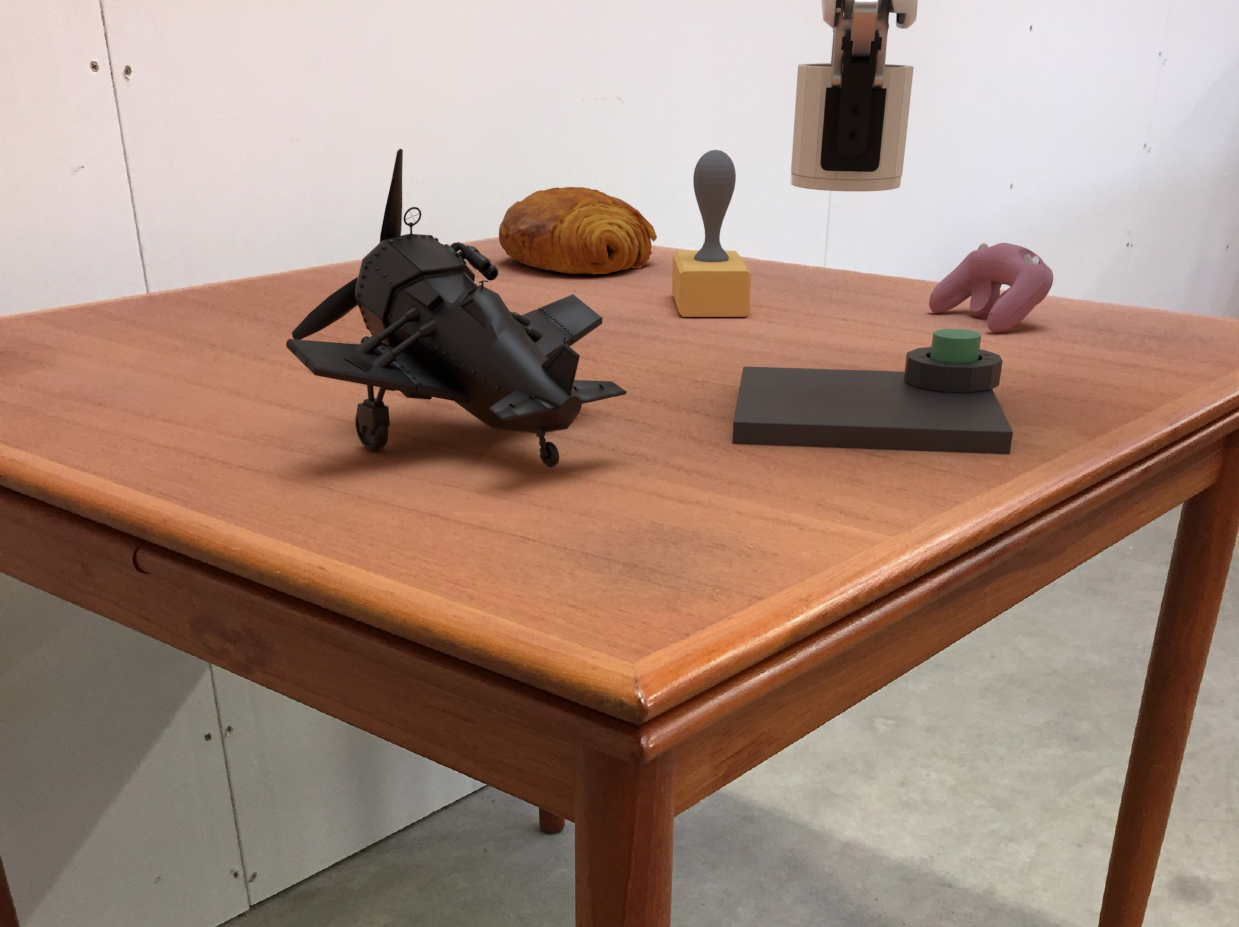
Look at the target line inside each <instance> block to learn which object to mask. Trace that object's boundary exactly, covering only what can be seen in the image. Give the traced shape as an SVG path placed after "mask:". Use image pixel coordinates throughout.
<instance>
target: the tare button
mask: <svg viewBox="0 0 1239 927" xmlns="http://www.w3.org/2000/svg"><path fill="white" fill-rule="evenodd" d="M981 341H982V334H981V333H980V332H978V331H975V330H972V329H965V328H940V329H937V330H934V331H933V332H932V338H931V346H930V347H931V354H930V359H933V360H937V361H944V362H955V363H969V362H977V361H978V356H979V349H981Z"/></svg>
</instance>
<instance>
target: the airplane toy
mask: <svg viewBox="0 0 1239 927" xmlns="http://www.w3.org/2000/svg"><path fill="white" fill-rule="evenodd" d="M403 161H404V150H403V148H399V149H398V150H397V151H396V154H395V160H394V166H393V170H392V175H391V180H390V185H389V190H388V194H387V198H386V203H385V206H384V213H383V218H382V223H381V227H380V228H381V229H380V235H379V243H377V244H376V245H375V247H374V248H372V249H371V250H370V251H369V252H368V253H367V254H366V255H365V256H364V257H363V258H362V259H361V262H360V263H361V264H360V268H359V270H358V271H359V272H358V275H357V277H355V278H353V279H352V280H350V281H349V282H347V283H346V284H344V285H343V286H342V287H340V288H339V289H337V290H335V291H334V292H333V293H331V294H329V296H327V297H326V298H325V299H324V300H323V301H321V302H320V303H319V304H318V305H317V306H316V307H315V308H314V309H312V311H310V312H309V313H308V314H307V315H306V317H305V318H303V319H302V320H301V322H300V323H299V324H298V325H297V326H296V327H295V328H294V329H293V330H292V331H291V336H292V338H288V339H287V340H286V343H285V347H286V348H287V350H288V351H289V352H291V354H292V355H294V356H295V357H296V358H297V360H299V361H300V362H301V363H302V365H303V366H305V367H306V368H307V369H308V370H309V371H310V372H311V373H312V374H313V375H314V376H316V377H321V378H327V379H332V380H338V381H343V382H348V383H354V384H360V385H364V386H366V390H367V398H365V399H363V401H362V402H360V403H357V407H356V413H355V418H354V421H355V423H354V425H355V432H356V434H357V437H358V438H359V442H360V443H361V445H363V448H366V449H367V450H369V451H373V452H376V451H380V450H382V449H383V448H385V447H386V445H387V443H388V440H389V428H390V426H391V420H390V419H391V418H390V409H389V406H388V405H386V404H385V402H384V401H383V400H384V397H385V394H386V391H390V392H394V391H397V392H400V393H401V394H402V395H403V396H404V397H405V398H407V399H418V400H428V401H431V400H432V398H436V399H440V400H441V399H442V400H447V401H452V402H454V403H455V404H457V405H459V407H461V408H462V409H464V410H465V411H466V412H468V413H470V414H471V415H472V416H473V417H475V418H476V419H478V420H479V421H480V422H482V423H483V424H485V425H487V426H489V427H491V428H493V429H496V430H498V431H505V432H506V431H507V432H517V433H526V434H527V433H528V434H535V435H536V437H537V438H538V439H539V441H538V444H539V446H540V448H539V458H540V459H541V461H542V463H543V464H544V466H546V467H547V468H555V467H556V466H557V465H558V464H559V461H560V452H559V449H558V446H557V445H556V444H555V443H554V442H552V441H547V439H546V438H545V437H546V436H547V434H546V433H552V432H559V431H563V430H568V429H569V428H570V426H571V425H572V424H573V423H574V421H575V420H576V418H577V417H578V416H579V414H580V412H581V411H582V406H583V405H585V404H588V403H593V402H594V403H595V402H597V401H603V400H608V399H612V398H616V397H621V396H625V395H626V394H627V392H628V391H626V390H625V389H624V388H622V386H619V384H616V383H615V382H614V381H613V380H587V379H585V380H584V379H576V375H577V370H578V366H579V362H580V357H581V355H580V354H579V353H578V352H577V351H575V349H573V348H572V347H571V346H574V344H576V343H577V342H579V341H580V340H581V339H583V338H584V337H585V336H587V335H588V334H590V333H591V332H593V331H594V330H596V329H597V328H598V327H600V326H601V325H602V324H603V317H602V316H601V315H600V314H599V313H598V312H596V311H595V310H593V309H592V308H591V307H590V306H588V305H587V304H586V303H585V302H584V301H582V299H580V298H579V297H578V296H576V295H575V294H574V293H573V294H569V295H568V296H565V297H562V298H560V299H558V300H555V301H553V302H550V303H548V304H545V305H543V306H541V307H538V308H536V309H533V310H531V311H528V312H526V313H524V314H520V313H518V312H517V311H511V310H510V309H509V308H508V307H507V305H506V304H505V302H504V300H503V299H502V297H501V296H500V294H499V293H497V292H496V291H493V290H492V289H490V288H488V287H486V286H485V284H484V283H489V282H490V281H495V280H496V279H497V278H498V277H499V269H498V267H497V266H496V265H494V264H492V262H491V260H490V259H489V258H488V257H487V256H485V255H484V254H482V253H481V252H480V250H479V249H477V248H476V246H473V245H468V244H467V245H466V244H465V243H463V242H460V241H457V242H456V241H455V242H452V243H451V244H450V245H449V244H448V243H445V244H443V243H441V242H440V240H439V238H438V237H434V235H432V234H418V233H413V227H414V226H416V225H417V224H418V223H419V222H420V221H421V218H422V211H421V209H420V208H419V207H417V206H411V207H409V208H408V209H407V210H406V211H405V212H404V215H403V165H404V164H403ZM413 210H417V212H418V213H417V214H415V215H413V214H412V212H411V211H413ZM409 213H410V217H407V214H409ZM415 216H418V218H417V220H415V218H414V217H415ZM406 217H407V218H406ZM411 218H412V219H413V221H414V222H407V220H408V219H411ZM403 222H404V225H405V226H408V227H409V233H406V234H402V228H403V227H402V224H403ZM467 262H468V264H469V265H470V266H471V268H473V269H474V270H476V271H478V272H479V273H480V274H481V275H482V276H483V277H484V278H485V279H486V280H484V279H481V280H480V281H478V284H479V285H477V283H475V280H476V274H475V273H474V272H473V271H472V270H471V268H470V267H468V264H467ZM356 307H358V309H359V311H360V315H361V317H362V321H363V323H364V326H365V328H366V330H367V331H369V333H370V335H371V336H370V337H369V336H363V337H362V338H361V339H360V343H348V342H347V343H346V342H337V341H336V342H334V341H321V340H310V339H306V338H308V337H310V336H313V335H314V334H316V333H318V332H321V331H322V330H324V329H325V328H327V327H329V326H331V325H332V324H334V323H335V322H337V321H338V320H340V319H342V318H344V317H346V315H347V314H349V313H350V312H351V311H352V310H354V309H355V308H356ZM374 387H376V388H379V389H378V392H377V395H376V397H375V390H374Z"/></svg>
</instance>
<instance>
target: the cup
mask: <svg viewBox="0 0 1239 927" xmlns="http://www.w3.org/2000/svg"><path fill="white" fill-rule="evenodd" d="M832 66H833V63H831V62H824V63H823V62H822V63H821V62H820V63H819V62H817V63H800V64H798V65H797V73H796V74H797V76H796V89H795V90H796V91H795V104H794V106H795V107H794V118H793V119H794V121H793V137H792V149H791V163H790V164H791V166H790V185H791V186H793V187H796V188H801V189H807V190H815V191H829V192H881V191H891V190H895V189H896V190H897V189H899V188H900V187H901V184H902V176H903V171H904V163H905V153H906V144H907V134H908V125H909V115H910V107H911V96H912V87H913V85H912V84H913V80H914V79H913V78H914V69H915V68H914V66H912V65H908V64H895V63H893V64H891V63H885V72H884V82H883V88H887V92H886V102H885V112H884V123H883V133H882V143H881V153H880V164H879V167H878V169H877V170H876V171H874V172H853V171H825V170H823V169H822V168H821V164H820V160H821V147H822V134H823V121H824V108H825V95H826V87H831V80H832ZM842 72H843V66H842ZM841 83H842V79H841ZM872 88H873V86H872Z"/></svg>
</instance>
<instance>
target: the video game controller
mask: <svg viewBox="0 0 1239 927" xmlns="http://www.w3.org/2000/svg"><path fill="white" fill-rule="evenodd" d="M1053 284H1054V273H1053V270H1052V269H1051V267H1050V266H1048V264H1046V263H1045V262H1044V260H1043V259H1042V258H1041V256H1039V255H1038V254H1037V253H1035V252H1034V251H1033V250H1031V249H1029V248H1027V247H1024V246H1021V245H1017V244H1015V243H1010V242H999V243H996V244H993V245H992V246H991V245H990V246H989V245H988V244H987V243H985V242H983V243H980V244H979V246H978V248H977V249H976V250H972V251H970V252H969V253H968V254H967V255H966V256H965V257H964V259H962V260H961V262H960V263H959V264H958V265H957V266H956V267H955V268H954V269H953V270H951V272H950V273H948V274H947V275H945V277H944V278H943V279H941V281H939V283H937V285H935V287H934V288H933V290H932V292H931V293H930V296H929V301H928V307H929V309H930V311H931V312H932V313H934V314H942V313H945V312H948V311H950V310H952V309H954V308H956V307H958V306H959V305H961V304H962V303H963V302H965V301H966V300H968V299H969V298H970V301H969V309H970V311H972V312H973V313H975V314H977V315H978V316H979V317H982V318H985V317H987V318H986V325H987V328H988V330H989V331H990V332H992V333H993V334H996V333H1001V332H1004V331H1008V330H1010V329H1013V328H1014V327H1016V326H1017V325H1018V324H1020V323H1021V322H1023V320H1024V319H1025V318H1026V317H1027V316H1028V315H1029V314H1030V313H1031V312H1032V311H1033V310H1034V308H1035V307H1036V306H1038V305H1039V304H1041V303H1042V301H1044V300H1045V299H1046V297H1047V296H1048V294H1049V293H1050V291H1051V289H1052V286H1053ZM1002 285H1006V286H1008V288H1007V289H1006V290H1004V291H1003V292H1002V293H1001V288H1002Z"/></svg>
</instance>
